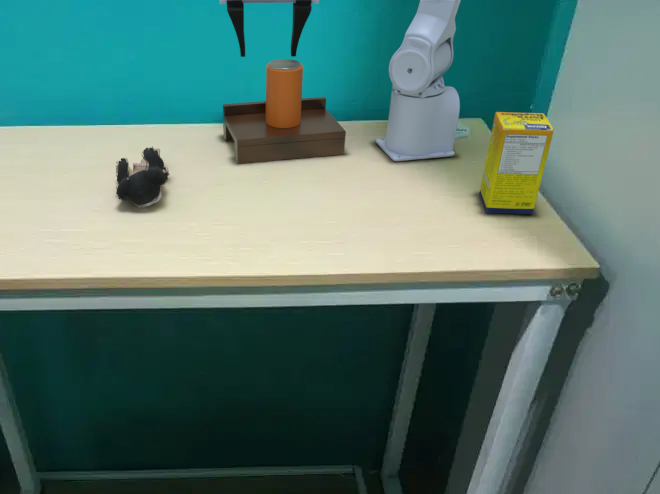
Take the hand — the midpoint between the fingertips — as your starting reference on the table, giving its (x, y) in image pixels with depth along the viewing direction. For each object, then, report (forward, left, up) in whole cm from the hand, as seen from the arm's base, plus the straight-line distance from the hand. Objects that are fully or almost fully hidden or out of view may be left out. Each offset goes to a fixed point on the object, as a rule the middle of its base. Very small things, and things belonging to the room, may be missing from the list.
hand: (268, 54), depth 112 cm
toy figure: (+22, +21, -11) cm, 32 cm away
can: (0, +10, -7) cm, 12 cm away
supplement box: (-23, +36, -11) cm, 44 cm away
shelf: (0, +10, -10) cm, 14 cm away
